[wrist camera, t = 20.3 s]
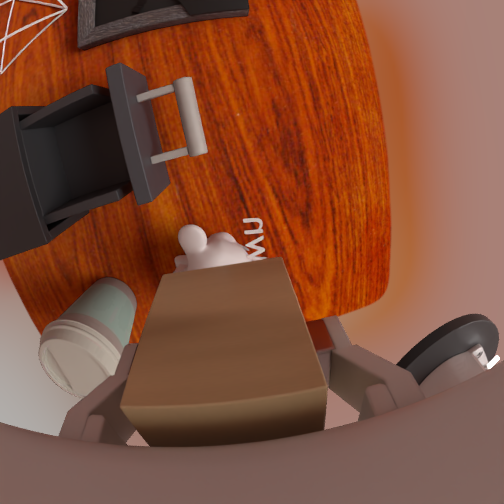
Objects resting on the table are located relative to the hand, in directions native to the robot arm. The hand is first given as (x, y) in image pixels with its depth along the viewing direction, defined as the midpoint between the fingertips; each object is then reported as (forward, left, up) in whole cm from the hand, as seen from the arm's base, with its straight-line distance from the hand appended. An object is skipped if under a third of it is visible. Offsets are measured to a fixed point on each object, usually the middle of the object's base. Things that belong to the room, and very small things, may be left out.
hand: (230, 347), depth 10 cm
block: (0, 0, -2) cm, 2 cm away
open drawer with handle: (+11, -1, -19) cm, 22 cm away
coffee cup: (+6, +16, -20) cm, 26 cm away
